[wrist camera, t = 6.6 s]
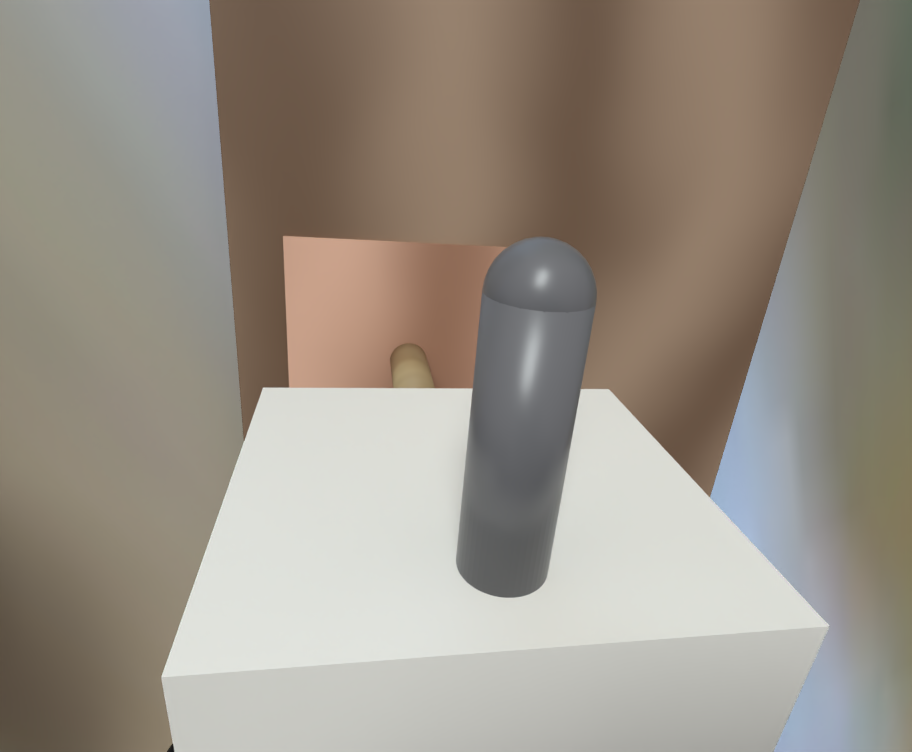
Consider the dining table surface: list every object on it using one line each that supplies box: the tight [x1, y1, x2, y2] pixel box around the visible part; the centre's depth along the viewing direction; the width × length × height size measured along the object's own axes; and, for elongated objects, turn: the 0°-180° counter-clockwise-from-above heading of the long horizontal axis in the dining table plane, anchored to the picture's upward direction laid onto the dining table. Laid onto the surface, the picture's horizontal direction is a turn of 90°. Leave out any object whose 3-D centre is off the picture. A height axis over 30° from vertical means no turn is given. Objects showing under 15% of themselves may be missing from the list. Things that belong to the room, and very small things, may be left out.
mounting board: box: [209, 0, 860, 497], centre depth 15 cm, size 15×18×3 cm
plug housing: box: [161, 237, 829, 752], centre depth 7 cm, size 5×11×4 cm, turn 176°
